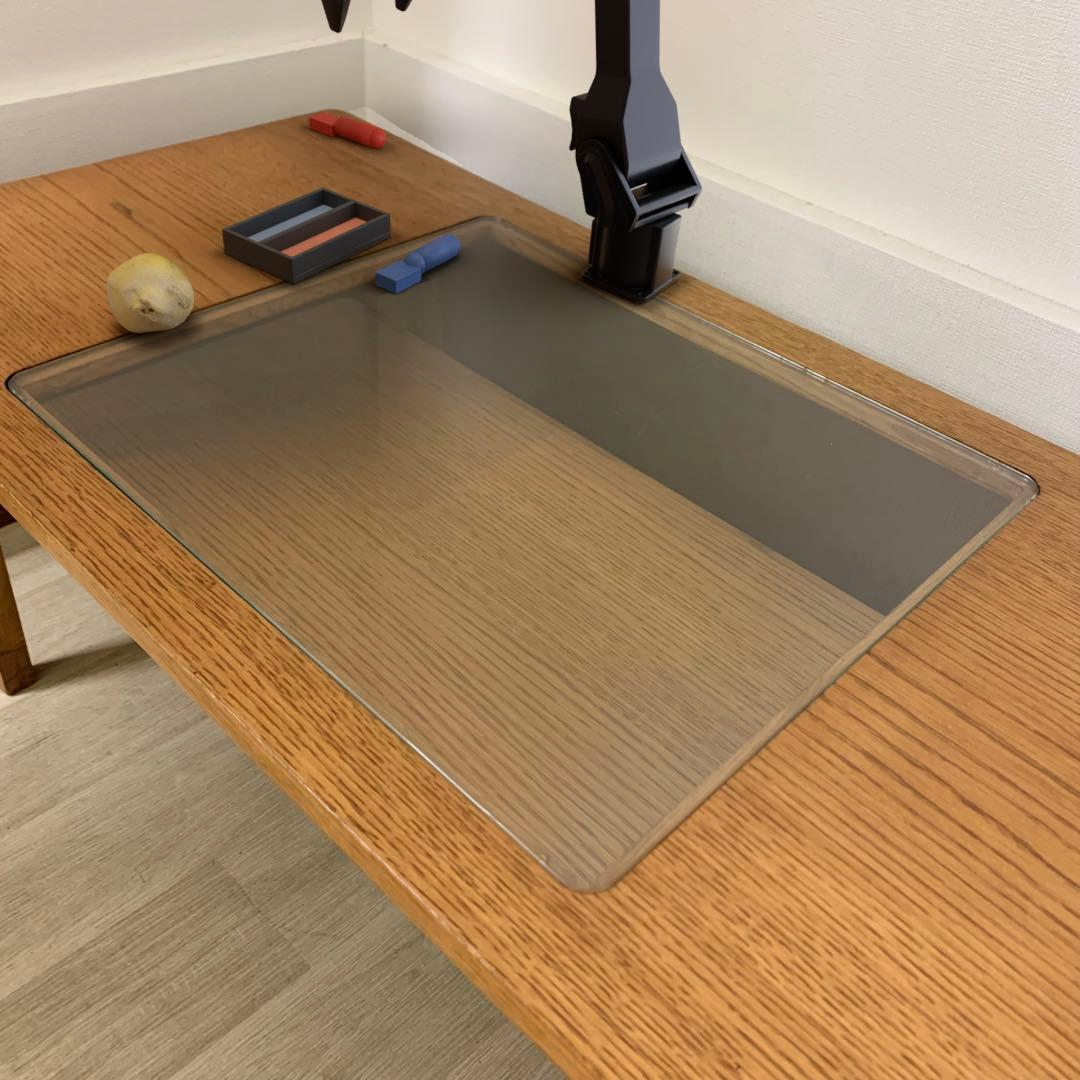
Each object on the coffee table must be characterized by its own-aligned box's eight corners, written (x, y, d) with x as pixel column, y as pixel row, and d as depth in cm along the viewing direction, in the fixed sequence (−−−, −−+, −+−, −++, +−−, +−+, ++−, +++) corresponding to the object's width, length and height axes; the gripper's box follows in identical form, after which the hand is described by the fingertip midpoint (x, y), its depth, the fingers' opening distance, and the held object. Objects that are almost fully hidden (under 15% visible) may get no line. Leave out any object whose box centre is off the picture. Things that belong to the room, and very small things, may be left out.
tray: (390, 237, 100) (390, 213, 98) (293, 284, 92) (292, 259, 90) (323, 210, 103) (322, 186, 101) (224, 253, 95) (221, 229, 94)
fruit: (191, 284, 91) (212, 328, 83) (120, 314, 90) (135, 361, 82) (158, 217, 87) (177, 257, 79) (84, 247, 86) (95, 291, 78)
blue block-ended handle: (445, 248, 99) (446, 227, 97) (465, 256, 98) (466, 235, 97) (375, 285, 93) (375, 263, 91) (396, 294, 92) (396, 271, 91)
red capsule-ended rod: (390, 147, 115) (390, 128, 114) (376, 153, 114) (376, 133, 112) (324, 123, 119) (323, 104, 118) (309, 128, 117) (308, 109, 116)
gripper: (380, -206, 104) (370, -29, 115) (229, -185, 92) (233, 10, 103) (475, -168, 101) (455, 11, 112) (330, -141, 89) (324, 56, 100)
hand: (368, 20), depth 107 cm, fingers open, 9 cm apart
